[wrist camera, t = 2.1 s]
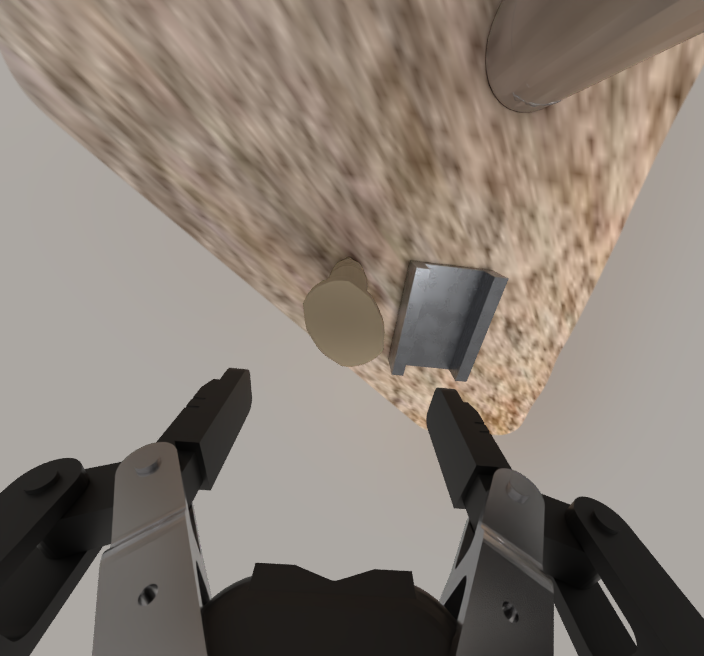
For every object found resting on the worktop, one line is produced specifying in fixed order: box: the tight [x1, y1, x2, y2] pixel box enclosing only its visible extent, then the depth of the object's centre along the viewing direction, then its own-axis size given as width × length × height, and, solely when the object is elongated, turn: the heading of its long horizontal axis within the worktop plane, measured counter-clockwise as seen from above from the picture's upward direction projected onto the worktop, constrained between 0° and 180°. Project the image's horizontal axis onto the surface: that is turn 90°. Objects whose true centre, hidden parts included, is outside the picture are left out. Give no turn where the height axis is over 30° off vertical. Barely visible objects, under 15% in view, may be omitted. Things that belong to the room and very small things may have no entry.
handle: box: [303, 257, 385, 367], centre depth 23 cm, size 5×6×15 cm
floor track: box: [388, 261, 508, 382], centre depth 31 cm, size 14×10×4 cm
